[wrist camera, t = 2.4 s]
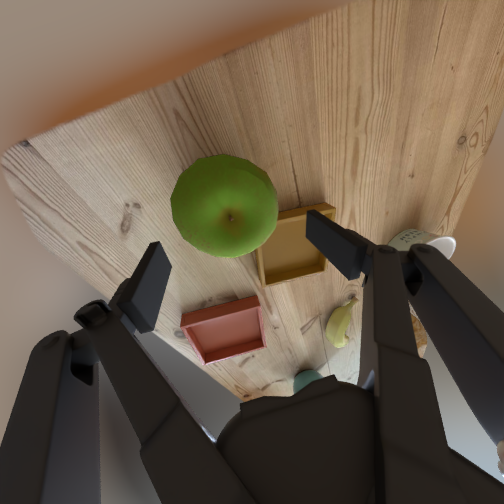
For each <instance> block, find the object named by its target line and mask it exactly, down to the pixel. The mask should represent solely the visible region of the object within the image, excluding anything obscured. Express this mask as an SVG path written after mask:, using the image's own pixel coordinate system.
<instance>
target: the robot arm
mask: <svg viewBox="0 0 504 504" xmlns="http://www.w3.org/2000/svg"><path fill="white" fill-rule="evenodd" d="M305 237H306V238H307V239H308V240H309V241H310V242H311V243H312V244H313V245H314V246H315V247H316V248H317V249H318V250H319V251H320V252H321V253H322V254H323V255H324V256H325V257H326V258H327V259H328V260H329V261H330V262H331V263H332V264H333V265H334V266H335V267H336V268H337V269H338V270H339V271H340V272H341V273H342V274H343V275H344V276H345V277H346V278H347V279H348V280H353V279H357V278H359V277H360V273H361V271H362V272H363V273H364V274H365V277H364V280H363V284H362V287H364V289H363V309H362V330H361V350H360V370H359V377H358V382H357V385H354V384H351V383H348V382H342V381H337V379H336V377H335V375H334V374H333V375H330V376H327V377H324V378H321V379H317V380H314V381H312V382H310V383H309V384H307V385H306V386H305V387H303V388H302V389H301V390H299V391H298V392H297V393H295V394H294V395H292V396H290V397H281V396H263V397H260V398H256V399H253V400H250V401H247V402H243V403H240V410H241V411H240V412H239V413H237V414H236V415H235V416H234V417H233V418H232V419H231V420H230V421H229V422H228V423H227V424H226V426H225V427H224V429H223V430H222V432H221V433H220V435H219V437H218V439H217V440H216V438H215V437H214V436H213V435H212V433H211V432H210V431H209V430H208V429H207V427H206V426H205V425H204V424H203V423H202V421H201V420H200V419H199V417H198V416H197V415H196V414H195V412H194V411H193V410H192V409H191V407H190V406H189V405H188V403H187V402H186V401H185V399H184V398H183V397H182V396H181V394H180V393H179V392H178V390H177V389H176V388H175V387H174V385H173V384H172V383H171V382H170V380H169V379H168V378H167V376H166V375H165V374H164V372H163V371H162V370H161V369H160V367H159V366H158V365H157V363H156V362H155V361H154V360H153V358H152V357H151V356H150V354H149V353H148V352H147V351H146V349H145V348H144V347H143V345H142V344H141V343H140V342H139V340H138V339H137V338H136V336H135V335H134V332H135V330H136V329H137V330H138V331H139V332H140V333H141V334H142V333H146V332H150V331H154V328H155V324H156V321H157V317H158V314H159V310H160V307H161V303H162V300H163V296H164V293H165V289H166V286H167V282H168V279H169V275H170V272H171V268H172V266H171V264H170V261H169V259H168V257H167V255H166V253H165V251H164V249H163V247H162V245H161V243H160V241H157V242H153V243H150V244H149V246H148V248H147V250H146V251H145V253H144V255H143V257H142V258H141V260H140V262H139V264H138V266H137V267H136V269H135V271H134V273H133V274H132V276H131V278H127V279H125V280H124V281H123V282H122V283H121V284H120V286H119V287H118V289H117V291H116V292H115V294H114V296H113V297H112V299H111V300H110V302H109V304H108V305H107V303H106V302H105V301H104V300H95V301H92V302H90V303H88V304H86V305H84V306H83V307H81V308H80V309H79V310H78V311H77V312H76V314H75V315H74V320H75V321H76V322H77V323H79V324H80V325H81V326H82V327H83V329H81V330H78V331H76V332H74V333H72V334H69V333H68V332H66V331H64V330H60V331H56V332H54V333H51V334H50V335H48V336H46V337H44V338H43V339H42V340H41V341H39V343H37V345H36V346H35V347H34V348H33V350H32V352H31V354H30V357H29V361H28V363H27V366H26V370H25V373H24V376H23V379H22V382H21V385H20V388H19V391H18V394H17V397H16V400H15V403H14V407H13V409H12V413H11V416H10V419H9V422H8V424H7V428H6V431H5V434H4V437H3V440H2V443H1V446H0V504H101V494H100V433H99V432H100V431H99V371H98V362H99V361H101V363H102V365H103V367H104V369H105V371H106V373H107V375H108V377H109V379H110V381H111V383H112V385H113V387H114V389H115V391H116V393H117V396H118V398H119V399H120V402H121V404H122V406H123V408H124V409H125V412H126V414H127V416H128V418H129V420H130V422H131V424H132V426H133V428H134V430H135V432H136V434H137V436H138V438H139V440H140V443H141V449H140V456H141V459H142V462H143V464H144V466H145V469H146V471H147V473H148V475H149V477H150V479H151V481H152V484H153V486H154V488H155V490H156V492H157V494H158V496H159V499H160V501H161V503H162V504H504V484H503V483H501V482H500V481H499V480H497V479H496V478H494V477H493V476H491V475H490V474H488V473H487V472H485V471H484V470H482V469H481V468H479V467H478V466H477V465H475V464H474V463H472V462H471V461H469V460H468V459H466V458H465V457H464V456H462V455H461V454H459V453H458V452H456V451H455V450H453V449H452V448H450V447H449V446H448V444H447V440H446V436H445V431H444V427H443V422H442V418H441V414H440V410H439V405H438V401H437V396H436V392H435V387H434V383H433V379H432V374H431V370H430V367H429V364H428V362H427V361H426V360H425V359H423V358H420V356H419V354H418V349H417V344H416V339H415V334H414V328H413V323H412V318H411V313H410V308H409V303H408V300H409V302H410V303H411V305H412V307H413V309H414V310H415V312H416V314H417V316H418V317H419V319H420V321H421V323H422V324H423V326H424V328H425V330H426V332H427V333H428V335H429V337H430V338H431V340H432V342H433V344H434V345H435V347H436V349H437V351H438V353H439V354H440V356H441V358H442V360H443V361H444V363H445V365H446V367H447V368H448V370H449V372H450V374H451V375H452V377H453V379H454V381H455V382H456V384H457V386H458V387H459V389H460V391H461V393H462V395H463V396H464V398H465V400H466V402H467V404H468V405H469V407H470V408H471V410H472V412H473V413H474V415H475V416H476V418H477V420H478V421H479V423H480V424H481V425H482V427H483V428H484V430H485V431H486V433H487V434H488V435H489V436H490V438H491V439H492V441H493V442H494V443H495V444H496V446H497V453H498V456H499V458H500V461H499V462H498V468H499V470H500V472H501V474H502V475H503V477H504V313H503V312H502V311H501V310H500V309H499V308H498V307H497V306H496V305H495V304H494V303H493V302H492V301H491V300H490V299H489V298H488V297H487V296H486V295H485V294H484V293H483V292H482V291H481V290H480V289H478V288H477V287H476V286H475V285H474V284H473V283H472V282H471V281H470V280H469V279H468V278H467V277H466V276H465V275H464V274H463V273H462V272H461V271H460V270H459V269H458V268H457V267H456V266H455V265H454V264H453V263H452V262H451V261H449V260H448V259H447V258H446V257H445V256H444V255H443V254H442V253H441V252H440V251H439V250H438V249H437V248H435V247H433V246H431V245H428V244H421V243H416V244H412V245H411V246H410V248H409V251H398V250H397V249H395V248H394V247H391V246H388V245H376V244H374V243H373V242H371V241H369V240H368V239H366V238H365V237H364V238H363V236H361V235H359V234H358V233H357V232H355V231H353V230H350V229H344V228H343V227H341V226H340V225H338V224H337V223H335V222H333V221H332V220H330V219H329V218H327V217H326V216H324V215H323V214H321V213H320V212H318V211H317V210H315V209H312V210H308V211H307V213H306V235H305Z"/></svg>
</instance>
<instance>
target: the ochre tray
mask: <svg viewBox="0 0 504 504" xmlns="http://www.w3.org/2000/svg"><path fill="white" fill-rule="evenodd" d="M312 209H315V210H317V211H318V212H320V213H321V214H323V215H324V216H326V217H327V218H329V219H330V220H332V221H333V222H334V220H335V213H336V208H335V207H333V206H331V205H330V204H328V203H321V204H316V205H312V206H307V207H302V208H297V209H292V210H287V211H283V212H278V217H277V224H276V229H275V230H274V231H273V233H272V234H271V235H270V237H269V238H268V239H267V241H266V242H265V243H264V244H262V245H261V246H260V247H258V248H257V249H255V254H256V261H257V268H258V275H259V280H260V282H261V285H262V288H266V287H270V286H274V285H278V284H282V283H286V282H289V281H293V280H297V279H301V278H305V277H309V276H313V275H317V274H321V273H325V272H327V269H328V262H329V260H328V259H327V258H326V257H325V256H324V255H323V254H322V253H321V252H320V251H319V250H318V249H317V248H316V247H315V246H314V245H313V244H312V243H311V242H310V241H309V240H308V239H307V238H306V237H305V235H306V213H307V211H308V210H312Z"/></svg>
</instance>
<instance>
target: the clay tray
mask: <svg viewBox="0 0 504 504" xmlns="http://www.w3.org/2000/svg"><path fill="white" fill-rule="evenodd" d="M180 328H181V329H182V331H183V333H184V334H185V336H186V338H187V339H188V341H189V343H190V344H191V346H192V348H193V349H194V351H195V353H196V354H197V356H198V358H199V359H200V361H201V363H202V364H203V366H204V365H207V364H211V363H214V362H218V361H221V360H225V359H228V358H231V357H235V356H238V355H242V354H245V353H249V352H252V351H256V350H259V349H263V348H266V347H267V345H266V339H265V332H264V326H263V319H262V312H261V306H260V303H259V300H258V297H257V295H256V296H252V297H248V298H244V299H240V300H236V301H232V302H228V303H224V304H221V305H217V306H213V307H209V308H205V309H201V310H197V311H193V312H189V313H185V314H182V318H181V324H180Z"/></svg>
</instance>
